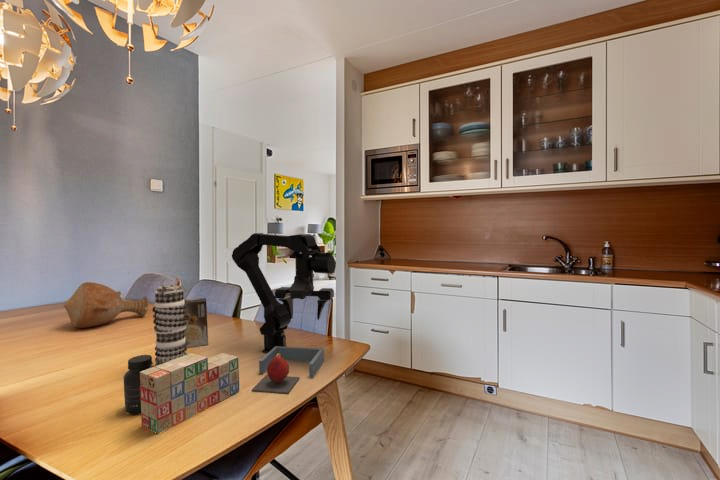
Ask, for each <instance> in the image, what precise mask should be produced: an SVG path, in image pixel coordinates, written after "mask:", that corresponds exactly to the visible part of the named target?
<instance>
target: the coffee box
mask: <svg viewBox="0 0 720 480" xmlns="http://www.w3.org/2000/svg"><path fill="white" fill-rule="evenodd" d="M184 302H185V304H184V305H185V306H187V308H186V309H184V310H185V311H187V313H186V314H184V317H186V318H187V319H186V320H185V321H184V322H186V323H187V324H186V325H185V326H186V329H184V331H185V334H184V335H185V342H186V343H187V345H186V346H185V347H186V348H187V349H188V348H192V347H201V346H207V345H209V330H208V328H209V327H208V309H207V308H208V306H207V298H206V297H202V298H190V299H189V298H188V299H184Z"/></svg>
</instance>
